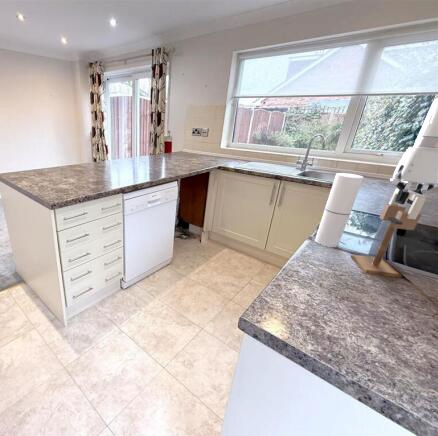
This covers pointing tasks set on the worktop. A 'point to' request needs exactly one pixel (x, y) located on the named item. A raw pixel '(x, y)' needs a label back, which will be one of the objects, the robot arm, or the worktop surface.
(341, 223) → the cylindrical container
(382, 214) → the wooden bracket
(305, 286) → the worktop surface
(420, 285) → the worktop surface
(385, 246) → the stand
